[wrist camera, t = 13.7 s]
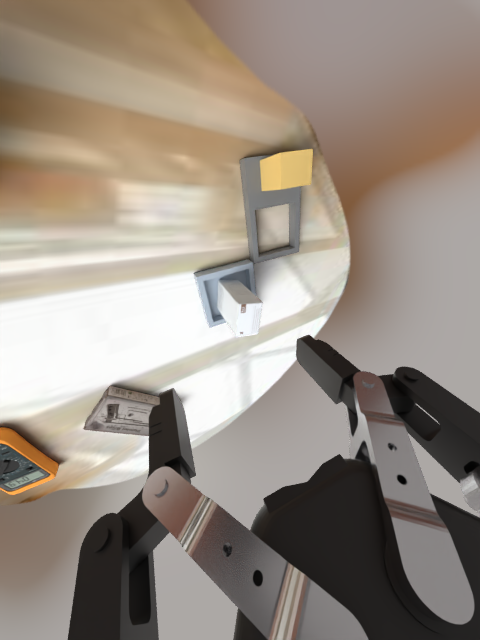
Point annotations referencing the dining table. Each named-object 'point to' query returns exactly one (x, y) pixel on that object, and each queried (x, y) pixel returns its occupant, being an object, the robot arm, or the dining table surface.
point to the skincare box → (239, 307)
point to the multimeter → (22, 463)
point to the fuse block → (275, 194)
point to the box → (122, 412)
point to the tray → (209, 286)
